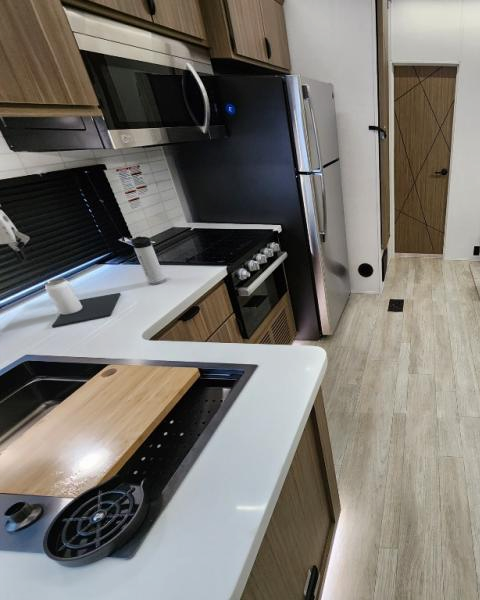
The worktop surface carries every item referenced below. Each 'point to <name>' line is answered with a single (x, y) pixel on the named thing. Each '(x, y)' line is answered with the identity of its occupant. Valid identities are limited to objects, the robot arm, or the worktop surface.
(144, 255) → the travel mug
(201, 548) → the worktop surface
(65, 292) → the can
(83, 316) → the mat
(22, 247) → the robot arm
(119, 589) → the worktop surface
